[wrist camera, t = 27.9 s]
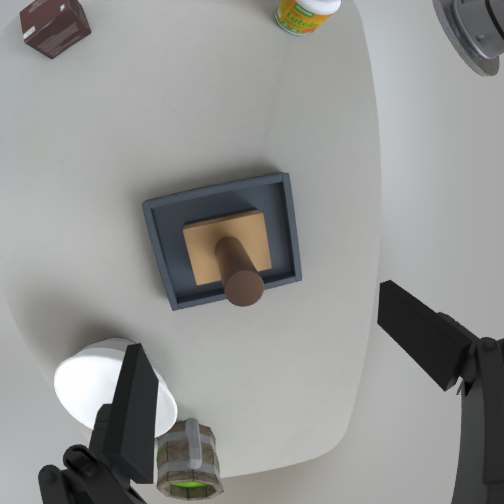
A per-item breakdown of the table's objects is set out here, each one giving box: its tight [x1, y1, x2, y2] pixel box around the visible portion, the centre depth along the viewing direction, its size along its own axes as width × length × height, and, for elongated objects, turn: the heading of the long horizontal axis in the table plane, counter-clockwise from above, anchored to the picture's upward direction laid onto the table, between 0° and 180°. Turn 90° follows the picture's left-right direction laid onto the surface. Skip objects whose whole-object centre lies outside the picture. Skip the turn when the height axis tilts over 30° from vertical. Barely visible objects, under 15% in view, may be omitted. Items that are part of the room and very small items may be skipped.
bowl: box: [54, 338, 177, 437], centre depth 30 cm, size 16×16×8 cm
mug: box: [157, 418, 224, 501], centre depth 35 cm, size 16×11×12 cm
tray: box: [142, 172, 302, 311], centre depth 31 cm, size 16×13×2 cm
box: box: [20, 0, 91, 59], centre depth 16 cm, size 6×6×7 cm
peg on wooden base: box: [183, 207, 272, 306], centre depth 25 cm, size 8×6×12 cm
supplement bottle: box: [275, 0, 341, 35], centre depth 20 cm, size 5×5×10 cm
